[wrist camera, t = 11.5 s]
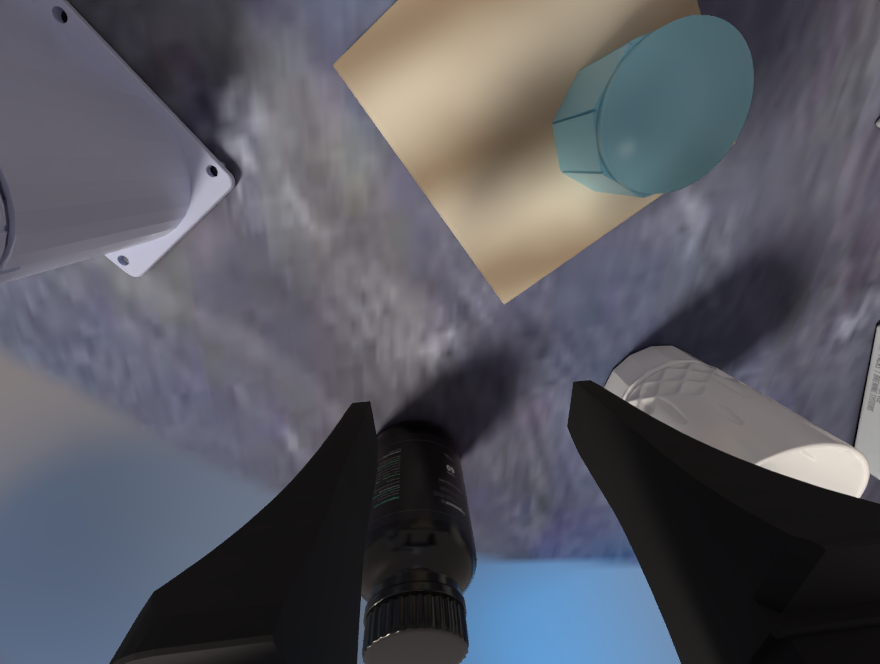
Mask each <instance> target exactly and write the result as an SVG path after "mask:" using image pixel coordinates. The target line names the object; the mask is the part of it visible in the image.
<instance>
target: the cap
mask: <svg viewBox="0 0 880 664" xmlns="http://www.w3.org/2000/svg"><path fill="white" fill-rule="evenodd" d="M753 88H754V68H753V60H752V56H751V53H750V50H749V47H748V45H747V43H746V41H745V39H744V38H743V36H742V35H741V33H740V32H739V31H738V30H737V29H736V28H735V27H734V26H733V25H731V24H730V23H729V22H727V21H726V20H723V19H721V18H718V17H715V16H710V15H691V16H687V17H683V18H681V19H678V20H675V21H673V22H671V23H669V24H667V25H665V26H663V27H661V28H659V29H657V30H655V31H653V32H650V33H648V34H645V35H643V36H641V37H638V38H636V39H633V40H631V41H630V42H628V43H626V44H624V45H623V46H621V47H619V48H617V49H616V50H614V51H612V52H611V53H609V54H607V55H605V56H604V57H602V58H600V59H598V60H597V61H595V62H593V63H591V64H590V65H588V66H586V67H584V68H583V69H581V70H580V71H579V72H578V73H577V75H576V77H575V79H574V81H573V82H572V84H571V86H570V88H569V90H568V92H567V94H566V96H565V98H564V100H563V102H562V104H561V106H560V108H559V110H558V112H557V114H556V116H555V118H554V120H553V122H554V123H555V124H552V127H553V133H554V138H555V144H556V150H557V155H558V161H559V166H560V171H562V173H563V174H565V175H567V176H568V177H570V178H572V179H574V180H575V181H577V182H579V183H581V184H582V185H584V186H586V187H588V188H589V189H591V190H593V191H595V192H602V193H610V194H618V195H625V196H633V197H640V198H646V197H648V196H651V195H653V194H659V193H668V192H673V191H676V190H679V189H682V188H684V187H686V186H689V185H690V184H692V183H694V182H696V181H697V180H699V179H700V178H702V177H703V176H704V175H706V174H707V173H708V172H709V171H710V170H711V169H713V168H714V167H715V166H716V165H717V164H718V163H719V162H720V160H721V159H722V158H723V157H724V156H725V155H726V153H727V152H728V151H729V149H730V148H731V146H732V145H733V143H734V142H735V140H736V139H737V137H738V135H739V133H740V131H741V129H742V127H743V125H744V122H745V120H746V118H747V115H748V111H749V108H750V105H751V100H752V96H753Z"/></svg>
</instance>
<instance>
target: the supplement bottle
mask: <svg viewBox="0 0 880 664" xmlns="http://www.w3.org/2000/svg"><path fill="white" fill-rule="evenodd" d="M377 441H378V466H377V477H376V483H375V489H374V495H373V501H372V507H371V513H370V519H369V525H368V530H367V536H366V543H365V551H364V562H363V575H362V587H361V596H362V597H363V599H364V600H365V601H366V602H367V605H366V607H365V612H364V627H365V629H364V640H363V649H362V655H363V662H364V663H365V664H459V663H461V662H462V660H463V659H464V658H465V657H466V654H467V653H468V647H469V641H468V633H467V624H466V605H465V600H464V597H463V594H464V593H465V592H466V591H467V589H468V588H469V586H470V584H471V582H472V580H473V578H474V575H475V571H476V565H477V558H476V550H475V543H474V537H473V531H472V526H471V520H470V514H469V508H468V502H467V496H466V490H465V485H464V479H463V473H462V467H461V461H460V456H459V451H458V448H457V445H456V443H455V441H454V439H453V438H452V437H451V436H450V435H449V433H447V432H446V431H445V430H443V429H442V428H440V427H438V426H436V425H434V424H430V423H427V422H419V421H412V422H404V423H400V424H397V425H394V426H392V427H390V428H388V429H386V430H385V431H383V432H382V433H381V434H380V435H379V436H378V437H377Z"/></svg>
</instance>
